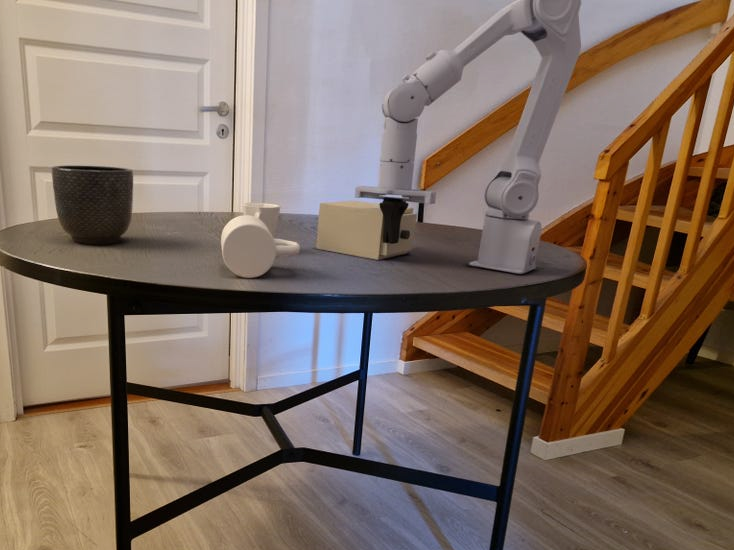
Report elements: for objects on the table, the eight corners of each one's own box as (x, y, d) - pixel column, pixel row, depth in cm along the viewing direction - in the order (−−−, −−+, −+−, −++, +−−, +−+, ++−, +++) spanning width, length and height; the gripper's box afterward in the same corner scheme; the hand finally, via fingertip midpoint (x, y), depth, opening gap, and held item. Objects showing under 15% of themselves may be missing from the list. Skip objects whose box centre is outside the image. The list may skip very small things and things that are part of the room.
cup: (279, 247, 118) (282, 204, 115) (273, 256, 108) (276, 210, 105) (243, 244, 118) (245, 201, 115) (234, 253, 109) (236, 207, 106)
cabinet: (407, 253, 119) (413, 207, 116) (378, 260, 111) (383, 211, 108) (348, 243, 127) (352, 200, 124) (316, 248, 118) (319, 203, 116)
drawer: (418, 250, 117) (423, 214, 115) (392, 256, 109) (396, 217, 107) (356, 240, 125) (360, 206, 123) (328, 245, 117) (331, 209, 115)
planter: (143, 237, 120) (142, 168, 115) (121, 250, 107) (118, 172, 102) (74, 233, 121) (70, 164, 116) (43, 244, 107) (37, 167, 103)
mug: (221, 277, 91) (222, 222, 88) (220, 263, 100) (221, 213, 97) (301, 280, 92) (305, 225, 89) (293, 266, 101) (296, 217, 98)
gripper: (348, 160, 106) (342, 240, 110) (426, 164, 97) (417, 250, 102) (368, 160, 111) (362, 236, 115) (444, 164, 102) (435, 246, 107)
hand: (389, 242), depth 109 cm, fingers closed, pressing on drawer
